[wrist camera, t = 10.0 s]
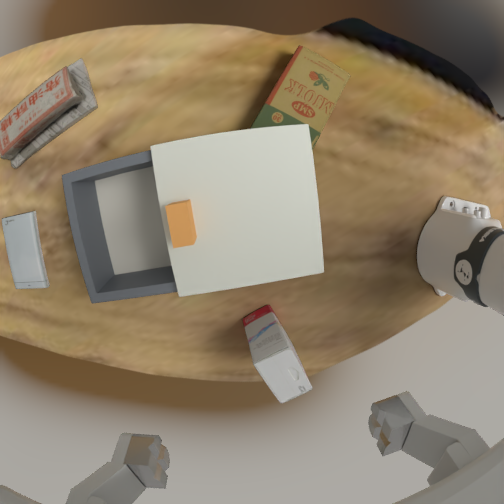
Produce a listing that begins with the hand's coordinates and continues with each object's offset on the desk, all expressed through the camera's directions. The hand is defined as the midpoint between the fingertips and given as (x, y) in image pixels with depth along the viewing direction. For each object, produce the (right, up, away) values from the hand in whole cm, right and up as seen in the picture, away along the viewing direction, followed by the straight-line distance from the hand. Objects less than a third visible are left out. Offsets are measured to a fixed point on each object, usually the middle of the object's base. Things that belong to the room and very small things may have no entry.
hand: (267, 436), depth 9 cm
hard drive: (-38, +7, +28) cm, 48 cm away
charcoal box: (-15, +11, +28) cm, 34 cm away
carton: (+5, +26, +27) cm, 38 cm away
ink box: (+2, -5, +35) cm, 35 cm away
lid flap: (-2, +11, +21) cm, 24 cm away
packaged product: (-32, +28, +23) cm, 48 cm away
